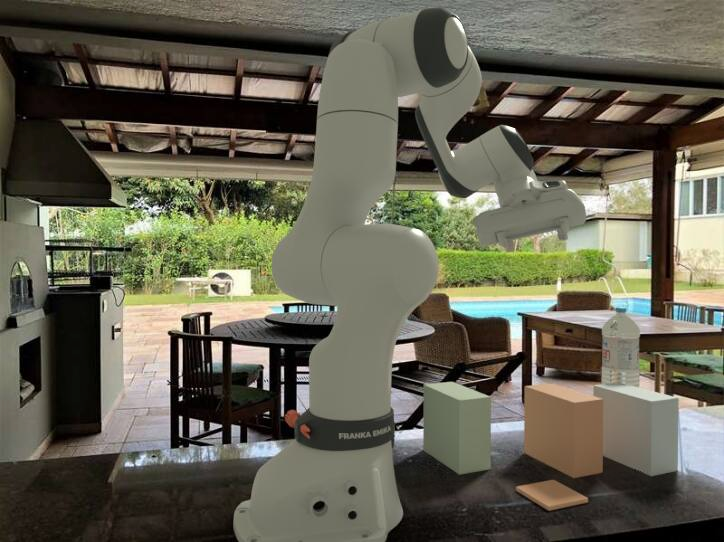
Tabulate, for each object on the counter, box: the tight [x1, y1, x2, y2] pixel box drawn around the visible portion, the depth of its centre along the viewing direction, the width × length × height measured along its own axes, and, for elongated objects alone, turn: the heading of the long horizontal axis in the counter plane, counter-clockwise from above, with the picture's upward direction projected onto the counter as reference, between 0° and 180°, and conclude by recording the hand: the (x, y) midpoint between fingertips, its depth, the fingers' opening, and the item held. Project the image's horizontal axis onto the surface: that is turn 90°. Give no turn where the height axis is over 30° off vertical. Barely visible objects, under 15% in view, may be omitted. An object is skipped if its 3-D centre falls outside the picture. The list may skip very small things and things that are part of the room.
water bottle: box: [601, 306, 641, 388], centre depth 107 cm, size 7×7×25 cm
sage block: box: [422, 381, 492, 475], centre depth 93 cm, size 6×12×12 cm, turn 22°
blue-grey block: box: [592, 382, 680, 477], centre depth 92 cm, size 6×12×12 cm, turn 22°
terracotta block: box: [523, 383, 604, 479], centre depth 92 cm, size 6×12×12 cm, turn 22°
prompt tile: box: [515, 479, 589, 512], centre depth 78 cm, size 7×7×1 cm
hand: (536, 243), depth 98 cm, fingers open, 8 cm apart
